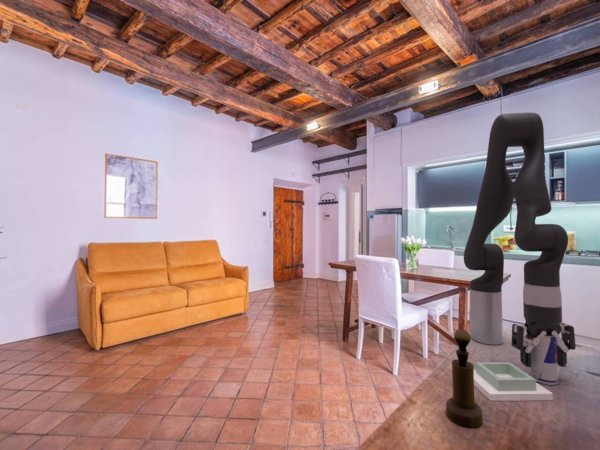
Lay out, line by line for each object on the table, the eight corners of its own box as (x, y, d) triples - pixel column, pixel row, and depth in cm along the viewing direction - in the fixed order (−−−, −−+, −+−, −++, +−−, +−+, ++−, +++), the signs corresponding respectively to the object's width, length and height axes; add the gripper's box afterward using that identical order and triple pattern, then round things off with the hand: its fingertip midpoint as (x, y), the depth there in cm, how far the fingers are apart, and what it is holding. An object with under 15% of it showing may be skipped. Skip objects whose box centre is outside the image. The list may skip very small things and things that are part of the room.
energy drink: (563, 385, 70) (562, 336, 70) (541, 385, 70) (540, 336, 70) (545, 374, 76) (544, 329, 76) (525, 374, 76) (523, 329, 76)
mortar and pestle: (450, 403, 64) (448, 322, 64) (484, 415, 60) (482, 329, 60) (442, 419, 59) (441, 331, 59) (479, 433, 55) (477, 338, 55)
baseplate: (463, 375, 76) (462, 360, 76) (516, 375, 76) (516, 359, 76) (490, 400, 65) (490, 383, 65) (552, 400, 65) (552, 382, 65)
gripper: (557, 298, 77) (558, 358, 77) (503, 298, 77) (504, 359, 77) (584, 305, 69) (586, 373, 69) (525, 306, 69) (526, 373, 69)
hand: (543, 365), depth 73 cm, fingers open, 8 cm apart
